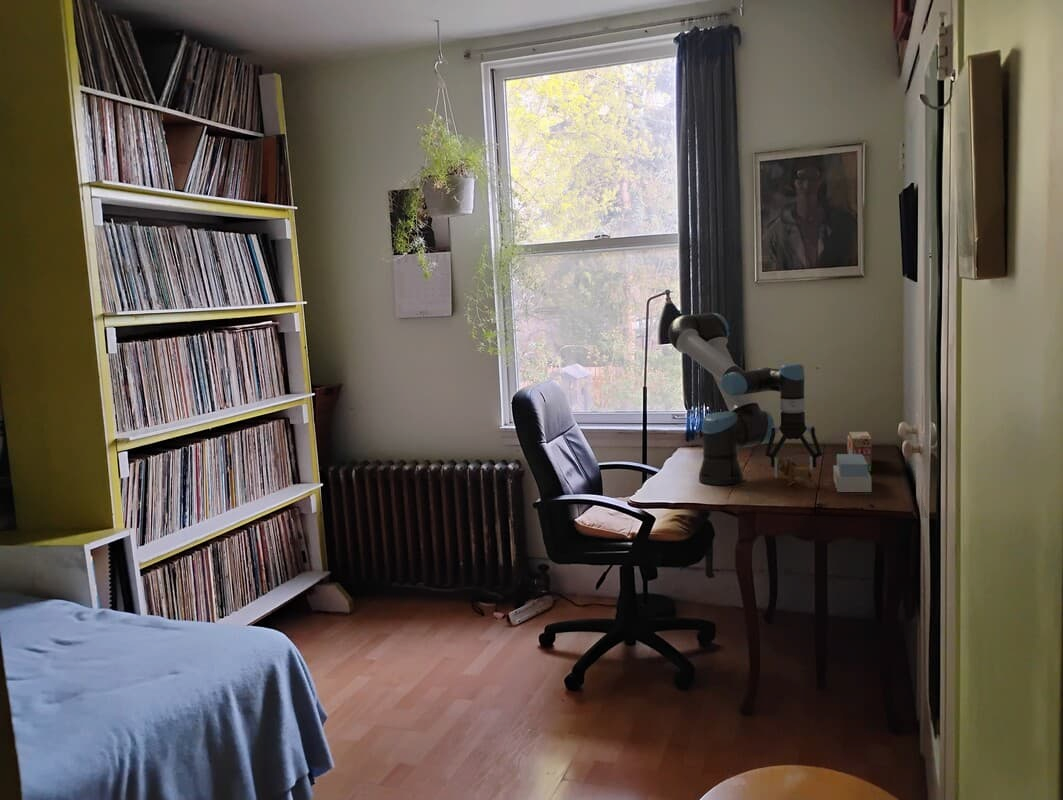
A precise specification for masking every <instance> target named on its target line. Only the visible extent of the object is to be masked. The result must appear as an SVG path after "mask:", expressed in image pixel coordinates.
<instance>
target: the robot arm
mask: <svg viewBox="0 0 1063 800" xmlns="http://www.w3.org/2000/svg"><path fill="white" fill-rule="evenodd" d="M728 330H730V327H729V324H728V322H727V320H726V318H725V317H724V316H722V315H721V314H720V313H715V312H714V313H713V312H706V313H696V314H685V315H684V314H683V315H679V316H677V317H676V318H675V319H674V320H672V322H671V323H670V325H669V327H668V331H667V334H668V335H667V336H668V340H669V342H670V344H671V345H672V347H673V348H675V349H676V350H677V351H678V352H679V353H681V354H686V355H688V357H690V358H691V359H693V360H694V361H695V362H696V363H697V364H699V365H700V366H701V367H703V368H704V369H705V370H706V371H708V372H709V374H711V375H712V376H713V378H714V381H715V382H716V385H717V387H718V390H719V391H720V393H721V396H722V398H723V400H724V403H725V405H726V406H727V408H728V411H721V412H719V411H718V412H713V413H710V414H707V415H706V416H704V418H703V420H702V428H701V432H702V451H703V452H702V453H703V457H702V461H701V467H700V470H699V473H698V481H699V483H701V482H703V483H702V484H704V483H707V484H706V485H710V484H713V485H712V486H730V485H729V484H732V485H737V484H741V483H743V482H744V480H745V479H744V472H743V468H742V466H741V464H740V461H739V455H738V449H741V448H748V447H754V446H755V447H756V446H760V445H764V444H767V443H768V444H767V447H766V450H765V453H764V455H765V457H769V458H770V466H771V468H774V478H775V479H777V478H778V468H777V465H778V457H777V454H778V452H779V451H780V449H782V446H783V445H784V443H785V441H786V440H799V439H800V441H801V442H802V444H803V445H804V447H805V448H806V449H807V451H808V453H809V454H810V456H809V468H810V469H811V472H812V474H813V473H814V472H813V471H814V470H813V469H814V468H817V458H818V457H822V455H823V453H822V450H821V447H820V444H819V442H818V439H817V437H816V428H815V426H814V425H811V426H806V421H805V420H806V417H805V415H806V414H805V413H806V412H804V410H805V404H806V403H805V377H806V376H805V369H804V365H803V364H801V363H783V364H781V365H780V366H779V368H772V367H759V368H757V369H753V370H744V369H742V368H741V367H739V366H738V365H737V364H735V362H734V360H733V358H732V356H731V354H730V352H729V350H728V348H727V344H728V341H729V340H728V338H729V335H730V331H728ZM765 392H779V393H780V396H779V397H780V410H781V412H780V425H779V426H775V421H774V418H773V415H772V414H771V413H770V412H769V411H767V410H763V409H761V407H760V405H759V404H758V402H756V401H754V400H753V401H752V399H751V396H750V394H755V393H756V394H757V393H765ZM779 431H780V433H781V434H782V436H781V438H780V439H779V441H778V442H777V444H776V445H775V447H774V449H773V450H771V449H772V447H773V444H774V441H775V437H776V434H778V432H779ZM805 432H808V434H810V436H811V439H812V441H813V445H814V447H815V450H816V452H815V451H814V449H813V448H812V447H811V445H810V443H809V442H808V441H807V439H806V437H805V436H804V434H805ZM771 451H772V452H771ZM813 475H814V474H813ZM742 481H743V482H742ZM740 482H741V483H740ZM736 483H737V484H736Z"/></svg>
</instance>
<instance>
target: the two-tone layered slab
mask: <svg viewBox="0 0 1063 800" xmlns="http://www.w3.org/2000/svg"><path fill="white" fill-rule="evenodd" d="M832 469H833V482H835V483H834V485H836V486H835V489H836V488H837V489H836V492H837V491H838V492H872V476H871V474H870V472H868V464H867V462H866V460H865V459H864V457H863V455H862V454H848V453H836V465H833V467H832ZM838 492H837V493H838Z"/></svg>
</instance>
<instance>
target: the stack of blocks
mask: <svg viewBox="0 0 1063 800" xmlns="http://www.w3.org/2000/svg"><path fill="white" fill-rule="evenodd" d="M872 440H873V439H872V437H871V435H870V433H869V432H868V431H849V433H848V435H846V444H847V454H862V455H863V457H864V459H865V460H866V462H867V464H868V471H871V472H872V467H873V466H872V448H873V447H872Z"/></svg>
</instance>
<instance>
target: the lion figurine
mask: <svg viewBox="0 0 1063 800" xmlns="http://www.w3.org/2000/svg"><path fill="white" fill-rule="evenodd" d="M777 471H780V472H781V473H782V474H783V475H784V476H786V477H787V479H788V483H787V484H786V485H787V486H788V485H790V486H792V485H794V484H795V479H796V478H797V479H798V478H802V479H803V480H804V481H805V482H806V487H807V489H808V490H812V489H813V485H814V486H815V487H816V488H821V487H820V485H819V484H817V483H816V481H815V478H814V474H812V472H811V469H810V467H807V466H803V467H802V466H798V465H797V464H796V462H794V461H792V460H791V459H789V458H788V457H781V458H779V459H778V461H777ZM812 483H813V484H812Z"/></svg>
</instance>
